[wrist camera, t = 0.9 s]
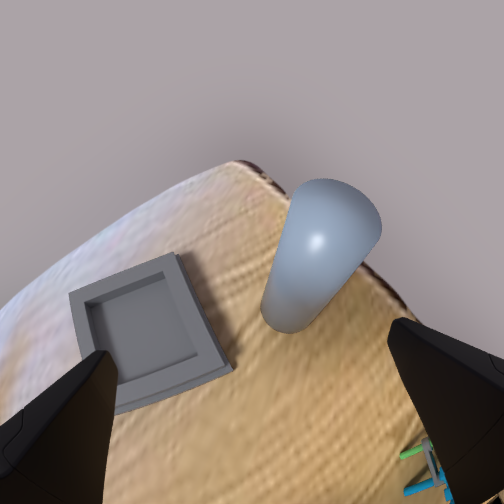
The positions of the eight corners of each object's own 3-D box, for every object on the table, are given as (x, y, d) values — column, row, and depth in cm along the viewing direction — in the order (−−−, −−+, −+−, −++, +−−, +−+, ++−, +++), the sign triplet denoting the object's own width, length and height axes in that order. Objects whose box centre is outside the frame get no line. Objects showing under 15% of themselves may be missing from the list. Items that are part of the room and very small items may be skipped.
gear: (469, 481, 12) (469, 526, 5) (421, 503, 14) (403, 549, 7) (446, 408, 19) (445, 433, 12) (398, 433, 21) (375, 464, 14)
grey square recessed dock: (233, 371, 21) (233, 367, 19) (106, 418, 17) (96, 418, 15) (179, 257, 26) (176, 245, 24) (72, 299, 22) (63, 290, 20)
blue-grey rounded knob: (324, 318, 24) (397, 233, 13) (277, 343, 22) (330, 269, 11) (296, 274, 26) (343, 171, 15) (250, 295, 24) (273, 190, 14)
